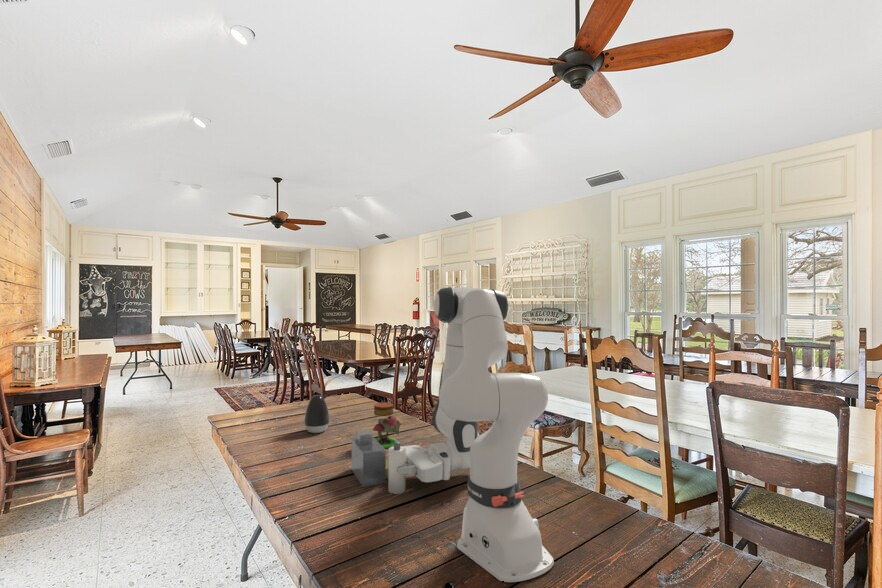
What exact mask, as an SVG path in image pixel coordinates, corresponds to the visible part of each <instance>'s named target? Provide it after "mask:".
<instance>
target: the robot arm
mask: <svg viewBox="0 0 882 588" xmlns="http://www.w3.org/2000/svg"><path fill="white" fill-rule="evenodd" d="M433 310H434V313H435V316H436V318H437V320H439V321H440V322H442V323H446V324H448V325H447V330H446V337H445V338H446V339H445V352H444V353H445V354H444V360H443V364H442V368H441V373H440V382H439V390H438V396H437V402H436V406H435V407H434V410H433V412H432V416H431V423H432V427H433V428H434V430H435V431H437V432H438V433H439V434H441V435H444V436H446V440H445V441H442V442H438V443H437V442H436V443H430V444H428V446H427V447H426V448H425V447H423V446H421V445H418V444H414V445H413V444H412V445H410V444H409V445H403V446H402V445H401V446H402V447H405V449H406V466H405V467H404V466H398V467H397V472H398V473H399V474H405V475H410V476H411V475H415V477H417V479H418V480H419V481H421V482H423V483H432V482H433V483H434V482H438V481H441V480H442V481H449V480H450V477H451V472H452V471H454V470H465V469H469V475H468V478H467V483H466V484H467V486H466V487H467V494H468V498H467V502H466V503H465V506H464V508H463V515H462V525H461V526H462V527H461V536H460V537H459V539H458V540H457V541H456V542H457V545H456V547H457V549H458V550H459V551H461V553H463V554H464V555H466V556H467V557H468V558H470V559H471V560H472V561H474V562H475V563H476V564H477V565H479V566H480V567H481V568H483V569H484V570H485V571H486V572H488V573H489V574H490V575H492V576H493V577H495V578H496V579H497V580H498V581H500V582H502V581H504V582H503V583H517V582H523V581H528V580H531V579H534V578H536V577H540V576H542V575H543V574H545V573H547V572H548V571H550V570H551V569H552V568H553V566H554V563H555V561H554V558H553V556H552V555H551V553H550V552H549V551H548V550H547V549H546V547H545V546H544V545H543V542H542V541H543V540H542V534H541V531H540V530H539V528H540V523H539V521H538V518H536V517H532V516H531V514H530V512H529V510H528V508H527V506H526V505H525V503H524V501H523V500H522V499H523V497H524V496H525V495H524V493H525V492H524V491H521V484H520V482H519V479H518V459H519V458H518V456H519V448H520V445H521V442H522V439H523V437H524V434H526V431H527V430H528V429H529V427H530V426H531V425H532V423H534V421H535V420H537V419H538V418H539V417H540V416H542V415H543V413H544V412H545V411H546V408H547V406H548V403H549V394H548V390H547V386H546V385H545V382H544V381H543V380H542V379H541V378H540V377H539V376H538V375H533V374H528V373H522V372H499V373H498V372H490V371H489V368H490V367H492V366H494V365H496V364H498V363H499V362H501V361H502V360H503V359H504V358H505V357H506V355H507V353H508V350H509V349H508V348H509V346H508V339H507V333H506V328H505V322H504V321H505V320H506V318H507V316H508V312H509V301H508V298H507V296H506V293H505V292H503V291H501V290H499V289H493V288H492V289H487V288H486V289H485V288H479V287H470V286H469V287H468V286H464V287H461V286H460V287H451V286H449V287H443V288H440V289H439V290H438V291H437V292H436V295H435V297H434V300H433ZM478 422H493V423H492V425H491V427H490V428H489V429H488V430H486V431H485V432H484V433H482V434H480V433H479V423H478Z"/></svg>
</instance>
